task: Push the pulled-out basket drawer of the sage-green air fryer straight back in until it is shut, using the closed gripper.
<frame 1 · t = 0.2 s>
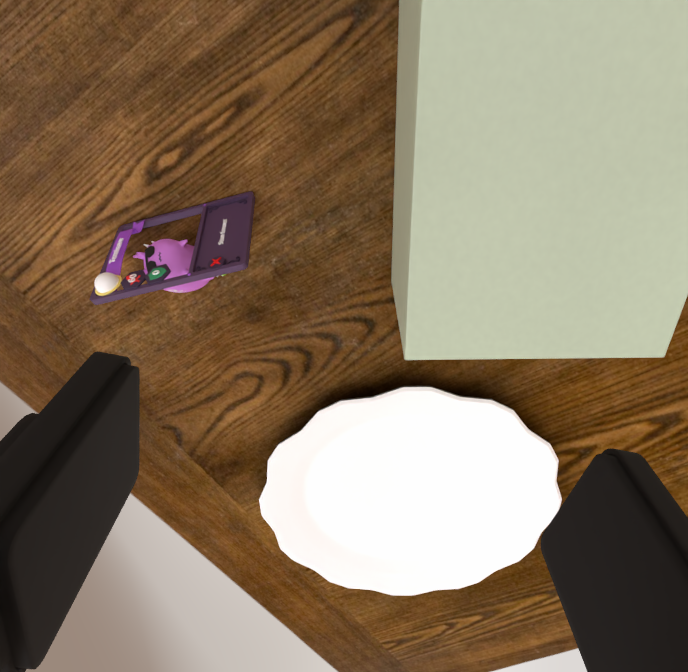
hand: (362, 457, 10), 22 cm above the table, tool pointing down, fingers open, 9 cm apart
plate: (406, 489, 42), on the table
air fryer: (503, 156, 27), on the table
game card: (201, 242, 31), on the table
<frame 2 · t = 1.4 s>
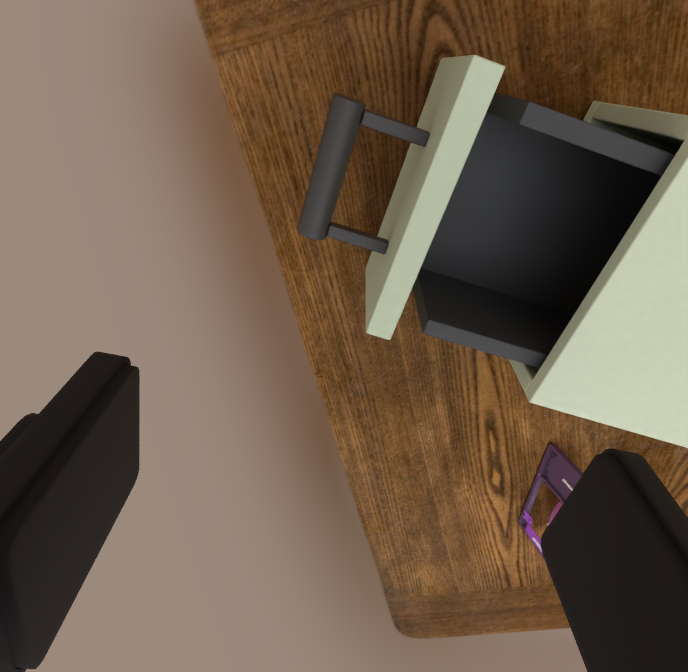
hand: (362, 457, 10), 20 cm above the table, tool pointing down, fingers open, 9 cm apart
air fryer: (651, 257, 28), on the table
fryer drawer: (504, 224, 23), point 5 cm above the table, slide at 7.0 cm
game card: (560, 484, 38), on the table
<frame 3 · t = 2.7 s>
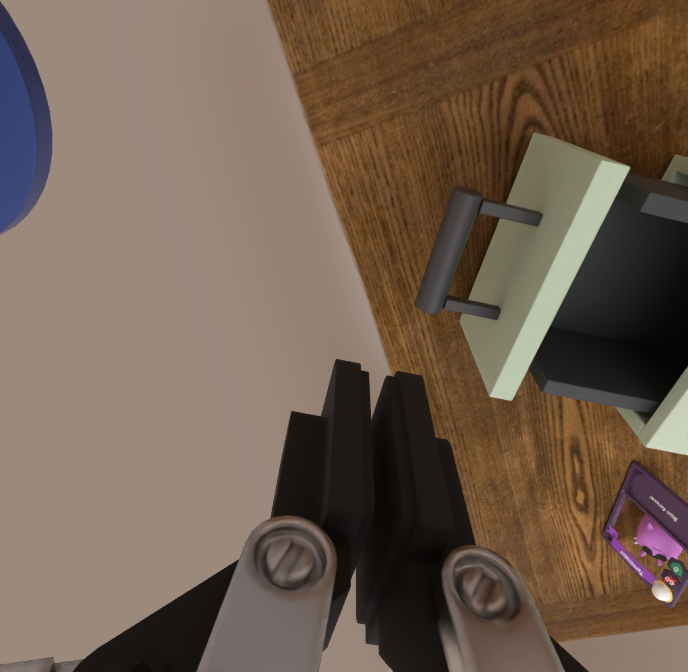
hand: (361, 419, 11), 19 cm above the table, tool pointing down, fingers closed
fryer drawer: (605, 282, 24), point 5 cm above the table, slide at 7.0 cm
game card: (643, 498, 39), on the table
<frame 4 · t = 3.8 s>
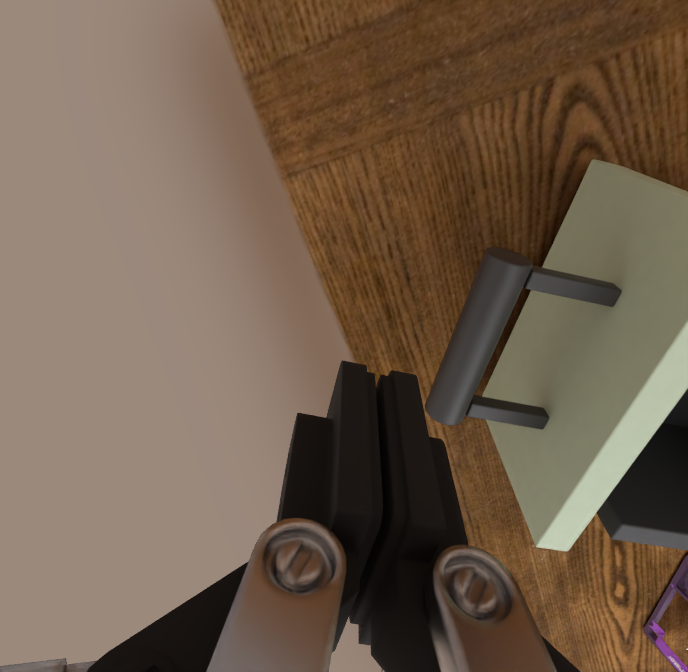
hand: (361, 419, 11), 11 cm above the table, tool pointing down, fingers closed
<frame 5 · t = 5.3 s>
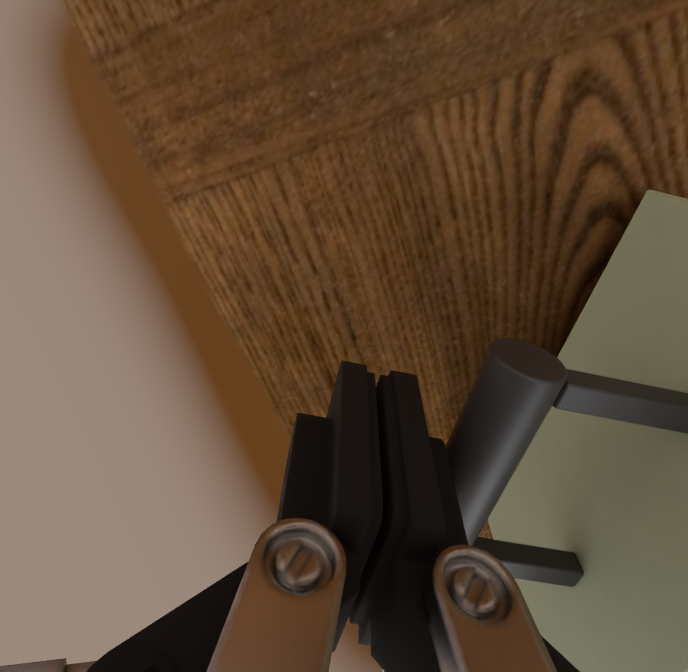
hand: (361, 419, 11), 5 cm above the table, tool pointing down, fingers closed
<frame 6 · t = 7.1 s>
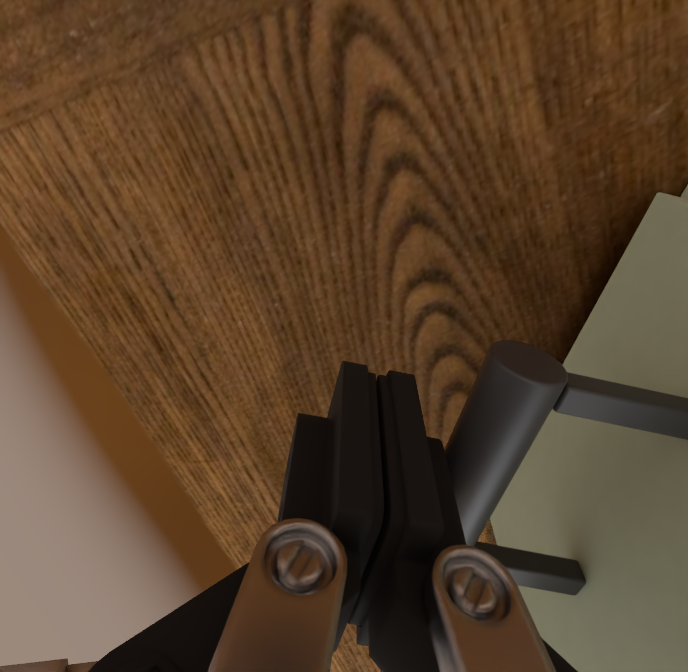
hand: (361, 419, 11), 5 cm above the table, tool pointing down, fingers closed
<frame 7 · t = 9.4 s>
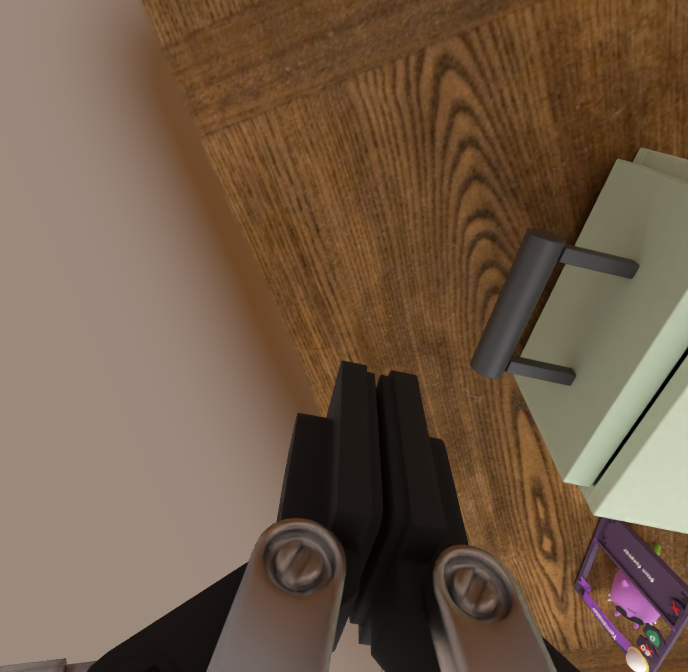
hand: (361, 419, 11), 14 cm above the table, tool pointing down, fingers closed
game card: (619, 547, 34), on the table
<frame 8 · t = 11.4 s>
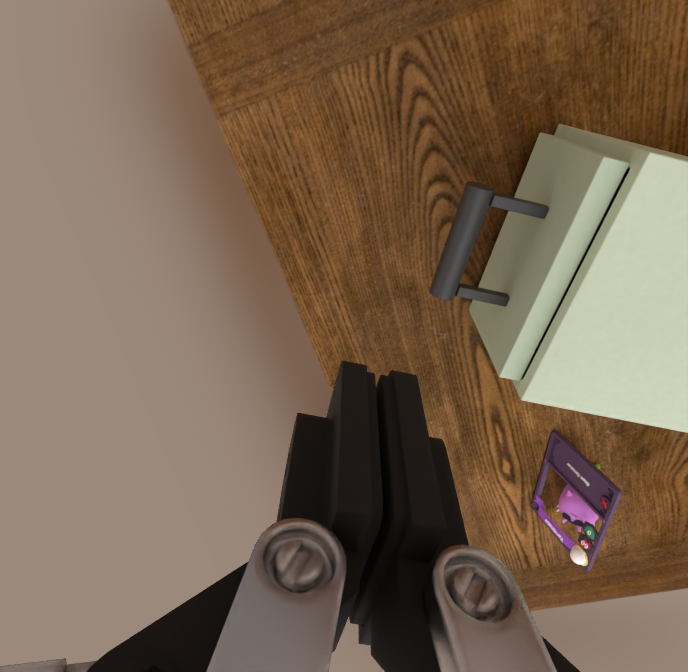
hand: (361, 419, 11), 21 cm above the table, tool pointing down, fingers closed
air fryer: (627, 255, 31), on the table
fryer drawer: (606, 271, 26), point 5 cm above the table, slide at 0.0 cm, touching air fryer
game card: (567, 468, 40), on the table
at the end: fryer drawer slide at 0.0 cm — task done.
